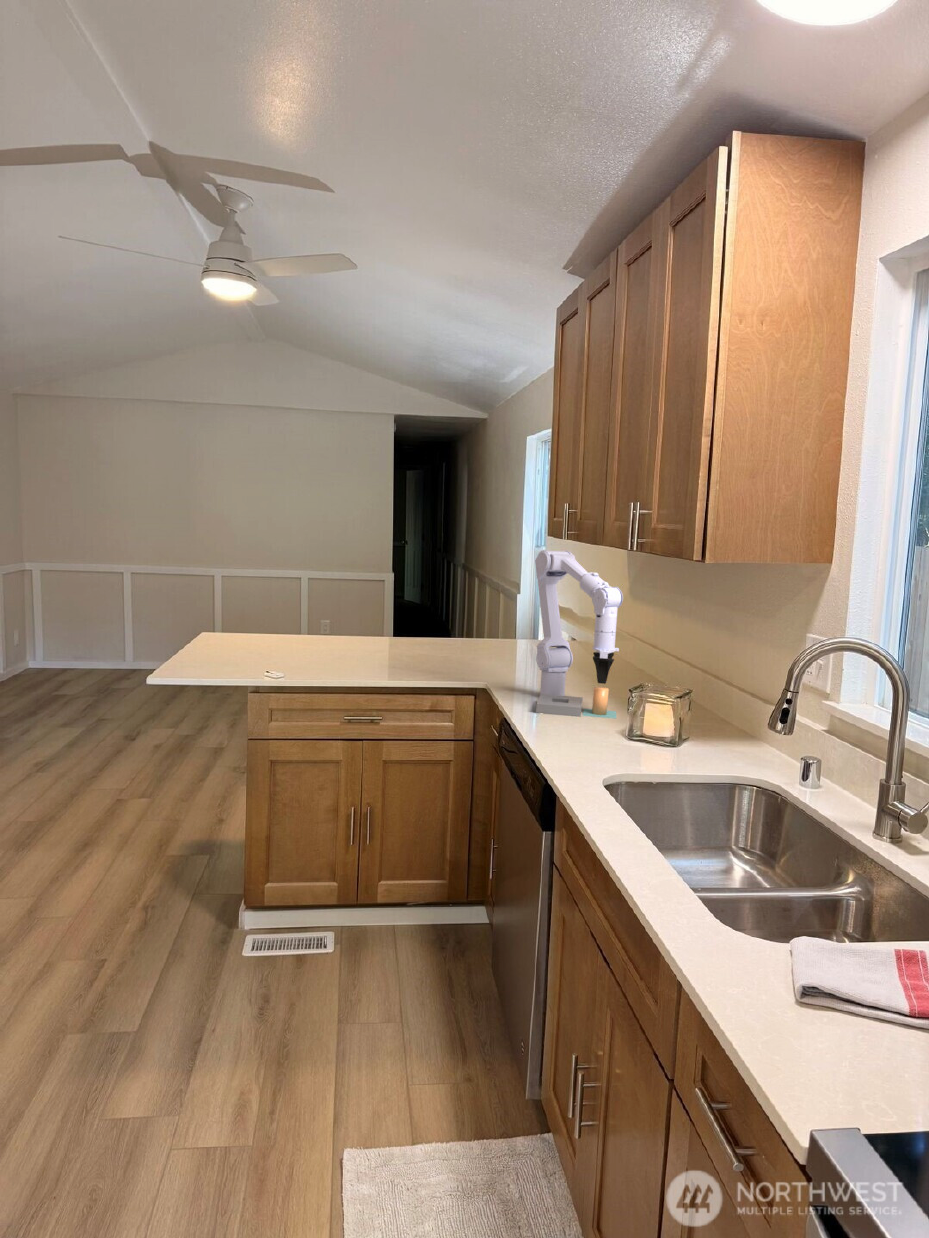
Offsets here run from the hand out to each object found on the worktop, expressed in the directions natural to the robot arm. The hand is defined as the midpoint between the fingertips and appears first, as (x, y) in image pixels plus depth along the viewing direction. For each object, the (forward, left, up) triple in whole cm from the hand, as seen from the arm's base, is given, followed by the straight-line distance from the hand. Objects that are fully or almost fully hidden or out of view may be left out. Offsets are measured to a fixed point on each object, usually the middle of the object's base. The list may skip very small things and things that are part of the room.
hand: (601, 680), depth 232 cm
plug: (0, 0, -9) cm, 9 cm away
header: (-1, -11, -10) cm, 15 cm away
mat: (0, 0, -10) cm, 10 cm away
